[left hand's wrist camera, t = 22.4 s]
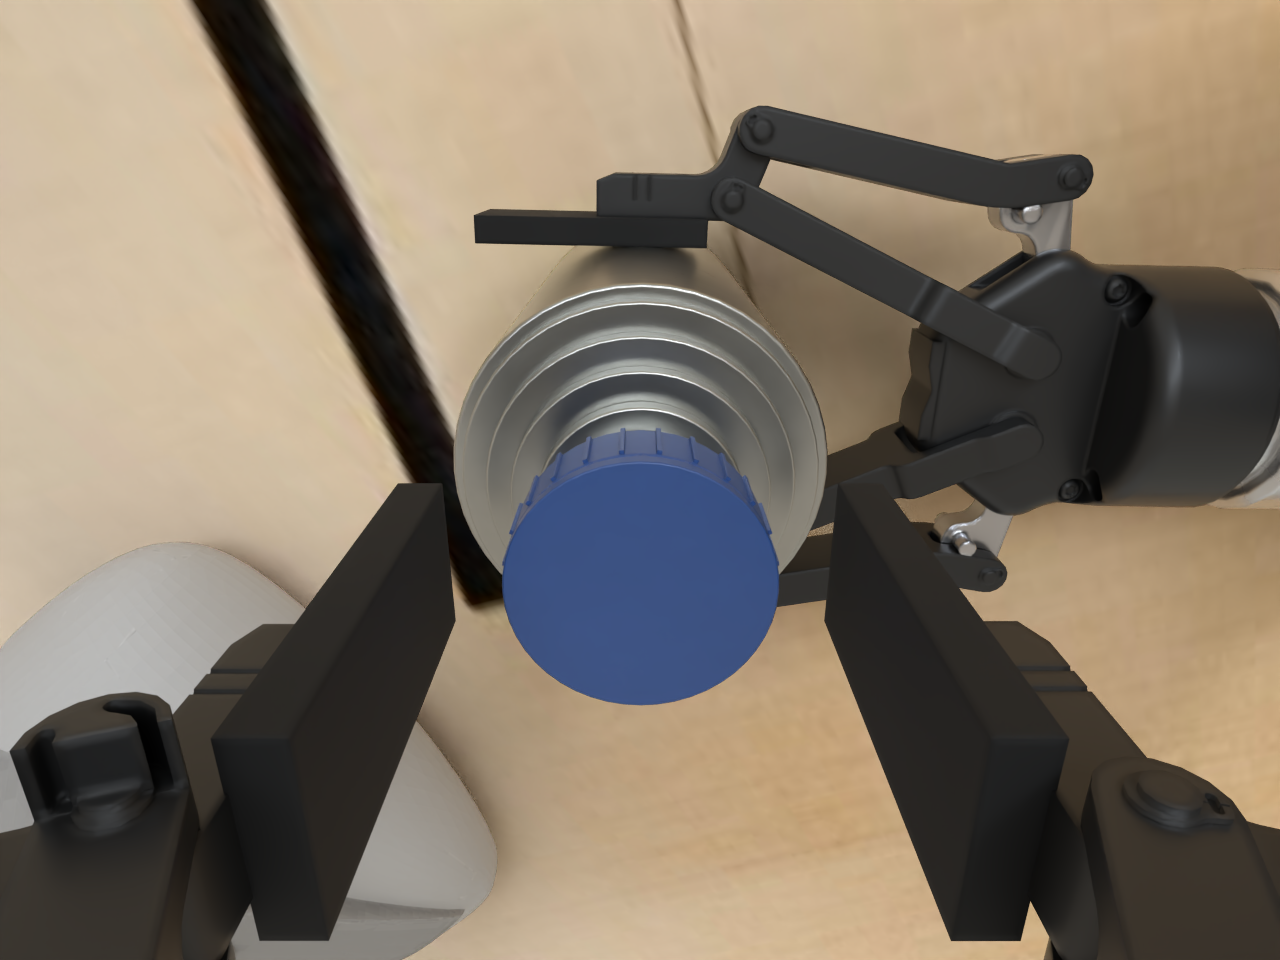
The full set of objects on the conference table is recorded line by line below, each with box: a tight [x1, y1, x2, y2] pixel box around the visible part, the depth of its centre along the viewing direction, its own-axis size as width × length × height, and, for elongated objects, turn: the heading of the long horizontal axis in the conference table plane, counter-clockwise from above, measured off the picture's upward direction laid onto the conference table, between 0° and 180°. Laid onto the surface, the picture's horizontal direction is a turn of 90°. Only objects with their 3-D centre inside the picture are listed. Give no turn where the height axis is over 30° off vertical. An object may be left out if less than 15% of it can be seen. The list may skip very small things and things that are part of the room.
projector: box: [0, 542, 497, 960], centre depth 32 cm, size 22×23×15 cm
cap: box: [502, 428, 779, 705], centre depth 14 cm, size 4×5×2 cm
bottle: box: [454, 246, 827, 574], centre depth 23 cm, size 8×8×19 cm
